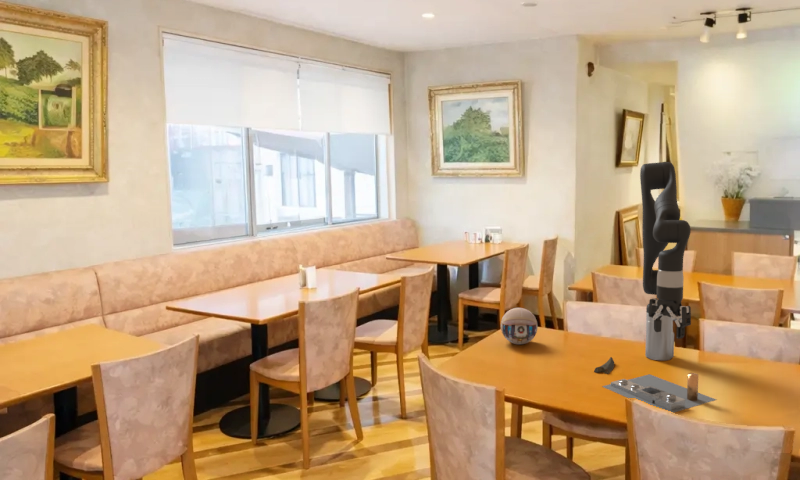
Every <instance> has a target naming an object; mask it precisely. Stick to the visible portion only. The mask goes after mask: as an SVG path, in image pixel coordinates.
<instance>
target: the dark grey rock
mask: <svg viewBox="0 0 800 480" xmlns="http://www.w3.org/2000/svg"><path fill="white" fill-rule="evenodd" d="M614 367H615V360H614V359H613V357H612V356H611V357H609V359H608V360H607V361H605V363H603V364H602V365H600V366H598V367H595V368H594V371H593V373H604V374H605V375H609V374H611V372H612V371H613V370H614Z"/></svg>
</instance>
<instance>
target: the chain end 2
mask: <svg viewBox="0 0 800 480" xmlns="http://www.w3.org/2000/svg"><path fill="white" fill-rule="evenodd" d="M648 391H653V392H655V394H650V393H647V392H648ZM636 393H638V394H640V395H643V396H645V397H647V398H650V399H652V400H654V401H655V405H657V406H660V407H662V408H664V409H667V410H669V411H674V410H677V409H680V408H684V407H685V399H682V398H680V397H677V396H676V395H673V394H670V393H667V392H665V391H662V390H660V389H657V388H655V387H652V386H647V387H643V388H639V389H636Z"/></svg>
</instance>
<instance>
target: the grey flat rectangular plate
mask: <svg viewBox="0 0 800 480" xmlns="http://www.w3.org/2000/svg"><path fill="white" fill-rule="evenodd" d="M627 380H628V381H631V382H633V383H636V384H638V385H641V386H643V387H647V386H652V387H655V388H657V389H660V390H662V391H665V392H667V393H670V394H673V395H676V396H677V397H680V398H682V399H685V407H684V408H680V409H677V410H674V411H671V412H673V413H672V414H674V413H677V412H680V411H684V410H688V409H691V408H694V407H697V406H701V405H704V404H708V403H711V402H714V401H717V399H716V398H713V397H712V396H711V397H710V396H709V395H707V394H706V395H705V394H703V393H700V392H698V400H697V401H690V400H688V399H687V387H684V386H682V385H679V384H678V383H677V384H676V383H674V382H671V381H668V380H666V379H663V378H660V377H658V376H655V375H652V374H645V375H641V376H638V377H633V378H630V379H627ZM601 387H602V388H604V389H607V390H609V391H611V392H613V393H616V394H618V395H620V396H622V397H625V398H626V399H627V398H628V399H629V398H636V399H638V400H641V401H644V402H646V403H648V404H650V405H653V406H656V407H659V408H662V407H660V406H657V405H655V403H650V402H648V401H646V400H643V399H641V398H639V397H636V396H634V395H632V394H629V393H627V392H625V391H622V390H620V389H618V388H615V387H613V386H611V383H610V384H607V385H606V384H605V385H602V386H601ZM662 409H664V408H662ZM665 410H667V409H665ZM668 411H669V410H668Z"/></svg>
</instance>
